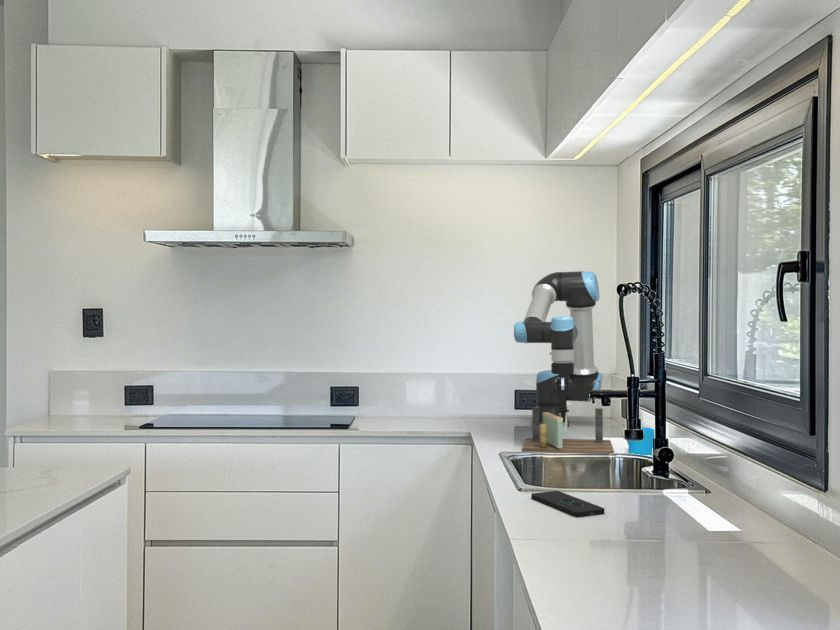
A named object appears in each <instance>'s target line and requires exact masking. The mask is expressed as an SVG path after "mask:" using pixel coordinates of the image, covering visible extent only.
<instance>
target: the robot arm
mask: <svg viewBox="0 0 840 630" xmlns="http://www.w3.org/2000/svg"><path fill="white" fill-rule="evenodd" d="M531 297H532V298H531V302H530V303H529V305H528V308H527V311H526V314H525V317H524V318H523V321H517V322H515V323H514V326H513V338H514V341H515V342H516V343H521V344H522V343H523V344H550V345H551V349H550V350H551V352H549V356H551V361H552V363H551V369H547V370H542V371H539V372H538V373H537V374H536V380H535V381H536V382H535V385H536V388H535V389H536V390H535V391H536V393H535V394H536V400H535V401H536V403H535V404H536V406H535V407H540V424H542V414H543V413H542V412H549V413H551V414H554V415H556V416H559V417H562V418H563V421H562V433H567V432H568V427H570V419H569V416H568V412H570V410H569V409H568V406H567V403H568V402H569V401H570V402H587V403H588V402H592V401H591V399H590V396H589V394H590V390H600V389H602V384H603V383H602V380H603V374H602V373H601V372H599V369H598V367H597V366H596V365H595V359H594V358H595V357H594V356H595V355H594V353H595V352H594V332H593V329H594V328H593V309H594V308H595V307H596V305H597V304H596V302H598V301H599V300H600V287H599V282H598V277H597V274H596V273H594V272H593V271H585V270H582V271H579V270H578V271H562V272H561V271H556V272H552V273H549V274H546V276H543V277H542V278H541V279H539V280H538V281H537V282H536V283H535V285H534V286H533V289H532V291H531ZM555 302H565V307H566V308H568V309H569V313H570V315H569V316H553V317H551V319H550V320H551V321H546V320H547V318H548V314H549V312H550V309H551V306H552V304H554V303H555ZM600 391H601V390H600ZM595 402H598V400H596V401H595Z"/></svg>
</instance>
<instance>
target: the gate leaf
mask: <svg viewBox="0 0 840 630" xmlns="http://www.w3.org/2000/svg"><path fill="white" fill-rule="evenodd" d="M542 413H543V414H542V424H547V443H549V444H551V445H553V446H555V447H556V448H563V447H562V439H563V432H562V421H563V418H562V417H559V416H556V415H554V414H551V413H549V412H542Z"/></svg>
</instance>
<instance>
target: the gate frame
mask: <svg viewBox="0 0 840 630" xmlns="http://www.w3.org/2000/svg"><path fill="white" fill-rule="evenodd" d="M531 409H532V411H531V412H532V414H531V416H532V421H531V422H532V423H531V424H532V437H525V439H524V442H523V445H522V447H521V452H533V453H535V452H536V453H562V454H563V453H564V454H565V453H566V454H575V453H574V452H581V453H580V454H592V453H614V454H615V450H614V447H613V444H612V442H611V439H604V438H603V435H604V434H603V433H604V429H603V427H604V425H603V424H604V423H603V420H604V418H603V414H604V413H603V411H604V410H603V408H599V407H596V408H595V409H594V413H595V414H594V416H595V417H594V418H595V424H594V425H595V429H594V430H595V435H594V438H595V439H593V438H591V439H590V438H589V439H588V438H587V439H586V438H585V439H584V438H562V447H563V448H556V447H555V446H553V445H551V444H549V443H547V424H540V407H536V406H533V407H532V408H531Z"/></svg>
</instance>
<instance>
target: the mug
mask: <svg viewBox="0 0 840 630" xmlns="http://www.w3.org/2000/svg"><path fill="white" fill-rule="evenodd" d="M641 428H642V429H643V431H644V439H643V440H642V441H627V440H626V442H627V445H628V453H629V452H630V453H634V454H640V455H652V448H653V443H652V442H653V438H654V439H655V429H654V428H653V427H645V426H643V427H642V426H641ZM652 456H653V455H652Z"/></svg>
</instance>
